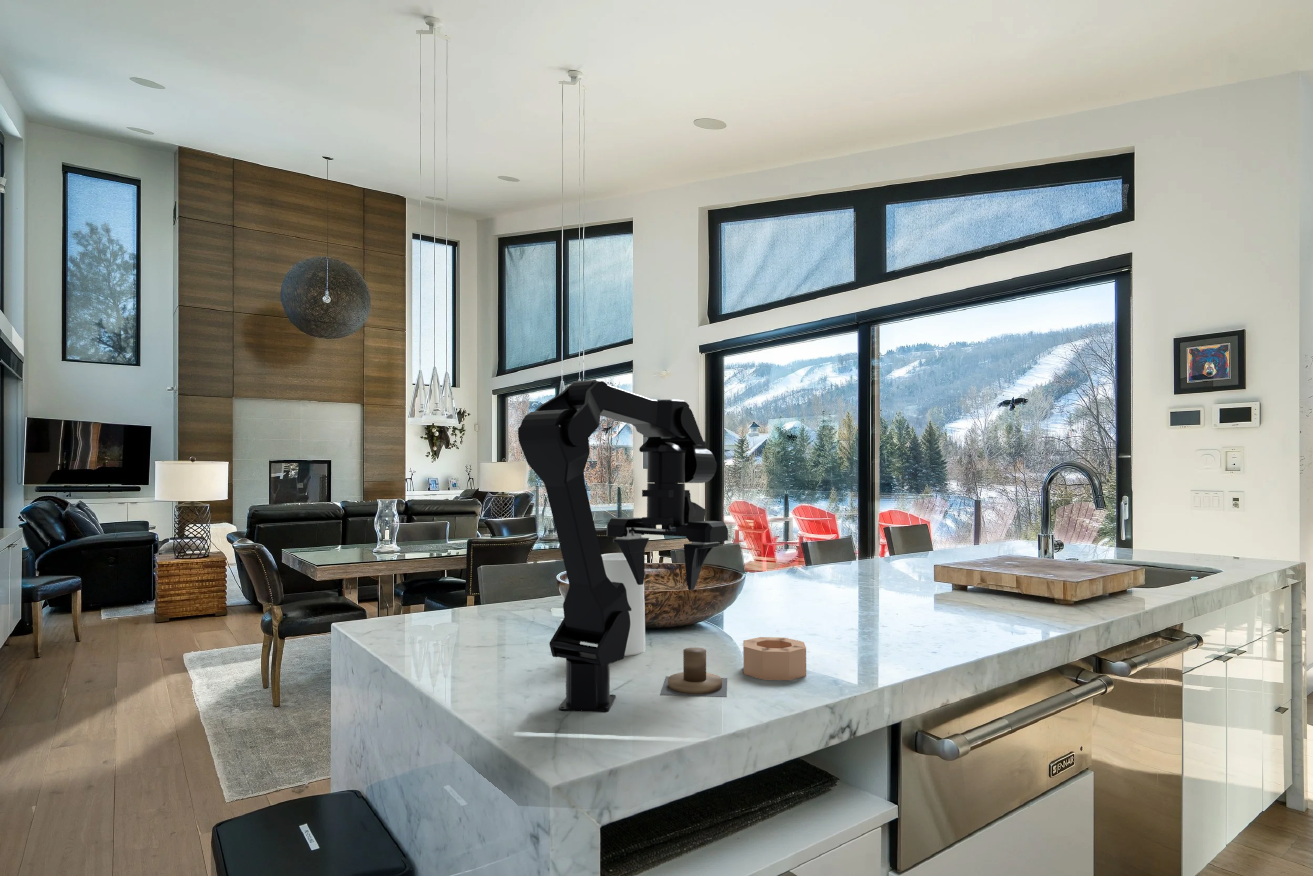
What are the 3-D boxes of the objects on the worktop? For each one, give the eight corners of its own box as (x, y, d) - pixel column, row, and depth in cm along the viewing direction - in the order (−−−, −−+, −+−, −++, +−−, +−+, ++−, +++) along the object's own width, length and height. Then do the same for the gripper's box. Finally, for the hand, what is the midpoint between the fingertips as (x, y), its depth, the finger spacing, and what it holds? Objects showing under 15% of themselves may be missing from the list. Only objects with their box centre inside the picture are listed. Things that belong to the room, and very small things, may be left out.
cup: (639, 658, 123) (637, 560, 123) (590, 657, 125) (588, 559, 125) (650, 645, 131) (648, 553, 131) (604, 644, 133) (602, 552, 133)
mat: (726, 699, 101) (726, 696, 101) (659, 697, 102) (659, 694, 102) (727, 680, 110) (727, 678, 110) (665, 679, 111) (665, 676, 111)
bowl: (808, 683, 109) (807, 652, 109) (743, 681, 110) (743, 650, 110) (802, 666, 118) (802, 638, 118) (743, 665, 119) (743, 636, 119)
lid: (721, 695, 102) (721, 657, 102) (665, 693, 103) (665, 656, 103) (722, 679, 110) (722, 644, 110) (670, 678, 110) (670, 643, 111)
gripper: (746, 483, 116) (745, 586, 115) (646, 482, 126) (646, 576, 126) (708, 484, 107) (708, 595, 106) (605, 482, 117) (603, 584, 117)
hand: (665, 587), depth 114 cm, fingers open, 9 cm apart
